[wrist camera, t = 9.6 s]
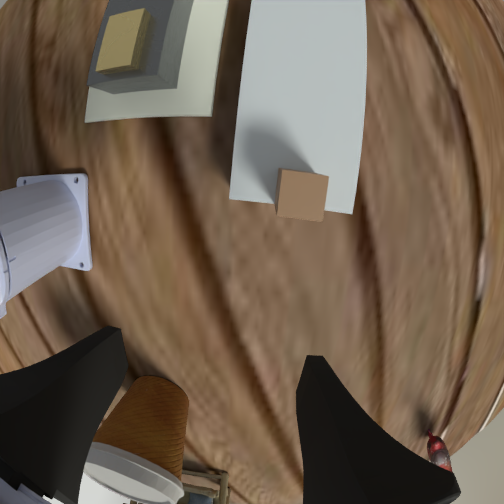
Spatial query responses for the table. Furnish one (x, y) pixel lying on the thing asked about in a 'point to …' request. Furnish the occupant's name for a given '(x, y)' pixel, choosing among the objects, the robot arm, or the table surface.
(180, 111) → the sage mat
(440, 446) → the decorative bird figurine
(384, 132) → the table surface
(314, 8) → the white rectangular block
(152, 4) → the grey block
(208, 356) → the table surface
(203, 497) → the swing bench
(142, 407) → the disposable coffee cup
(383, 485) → the robot arm
